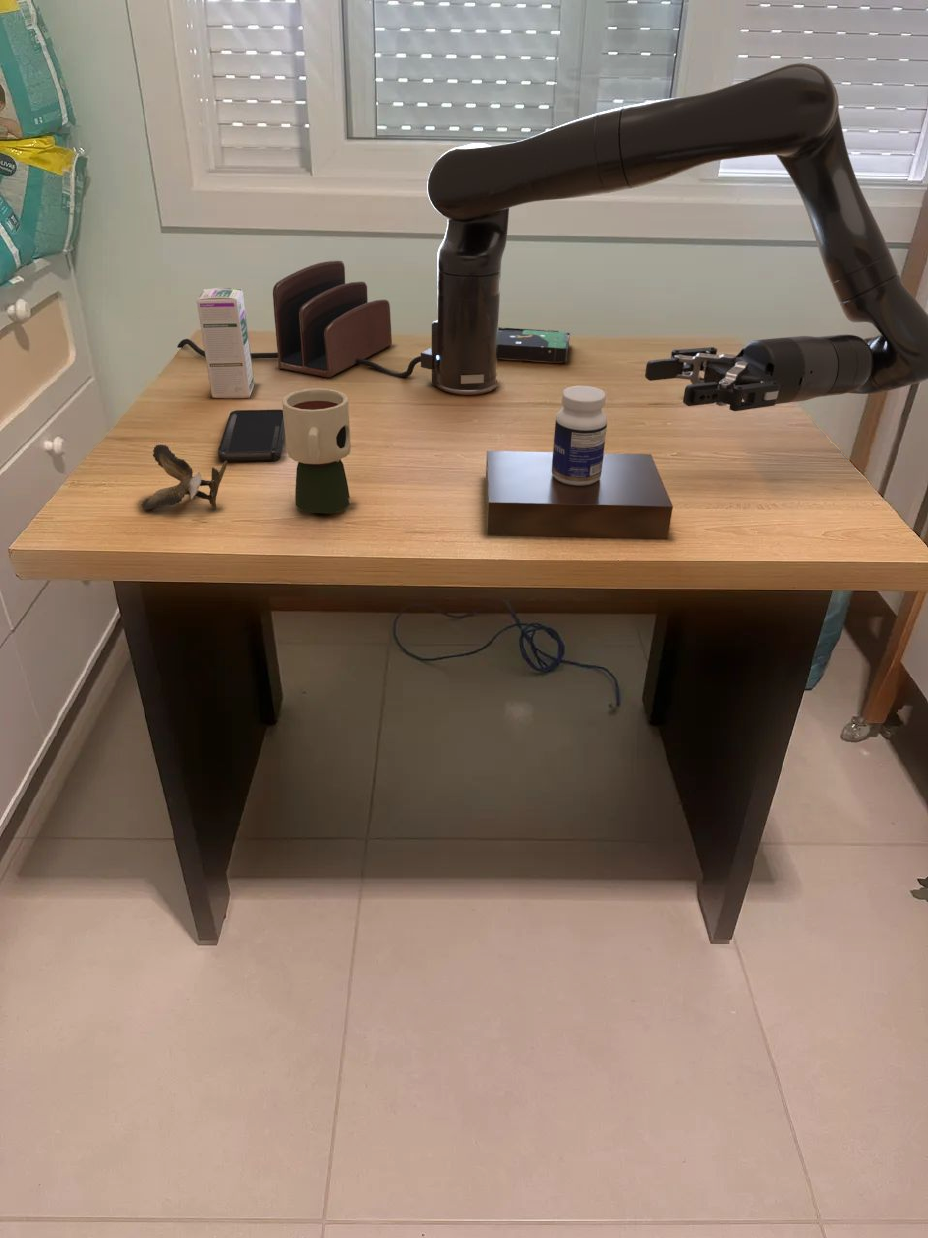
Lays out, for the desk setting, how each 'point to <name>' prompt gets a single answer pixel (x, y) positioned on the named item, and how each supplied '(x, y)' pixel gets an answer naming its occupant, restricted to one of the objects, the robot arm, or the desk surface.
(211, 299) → the syrup box
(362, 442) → the desk surface
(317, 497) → the character mug
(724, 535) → the desk surface
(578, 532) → the walnut stand
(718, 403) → the robot arm
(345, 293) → the letter holder
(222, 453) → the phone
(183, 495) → the eagle figurine
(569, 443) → the pill bottle
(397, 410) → the desk surface
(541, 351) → the disk drive
